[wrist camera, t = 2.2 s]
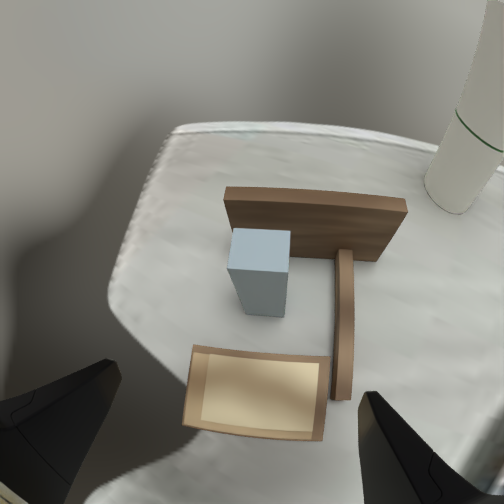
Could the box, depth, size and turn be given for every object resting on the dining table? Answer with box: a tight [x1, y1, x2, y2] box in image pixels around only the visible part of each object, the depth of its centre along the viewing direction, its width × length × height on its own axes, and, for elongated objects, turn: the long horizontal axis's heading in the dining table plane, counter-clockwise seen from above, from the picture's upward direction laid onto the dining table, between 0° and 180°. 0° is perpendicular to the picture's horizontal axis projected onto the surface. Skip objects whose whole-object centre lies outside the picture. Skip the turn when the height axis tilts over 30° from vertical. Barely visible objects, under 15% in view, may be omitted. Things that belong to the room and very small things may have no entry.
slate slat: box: [227, 228, 290, 317], centre depth 19 cm, size 2×3×10 cm
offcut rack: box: [182, 187, 408, 441], centre depth 18 cm, size 17×16×8 cm
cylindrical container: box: [424, 0, 504, 214], centre depth 16 cm, size 7×7×25 cm
